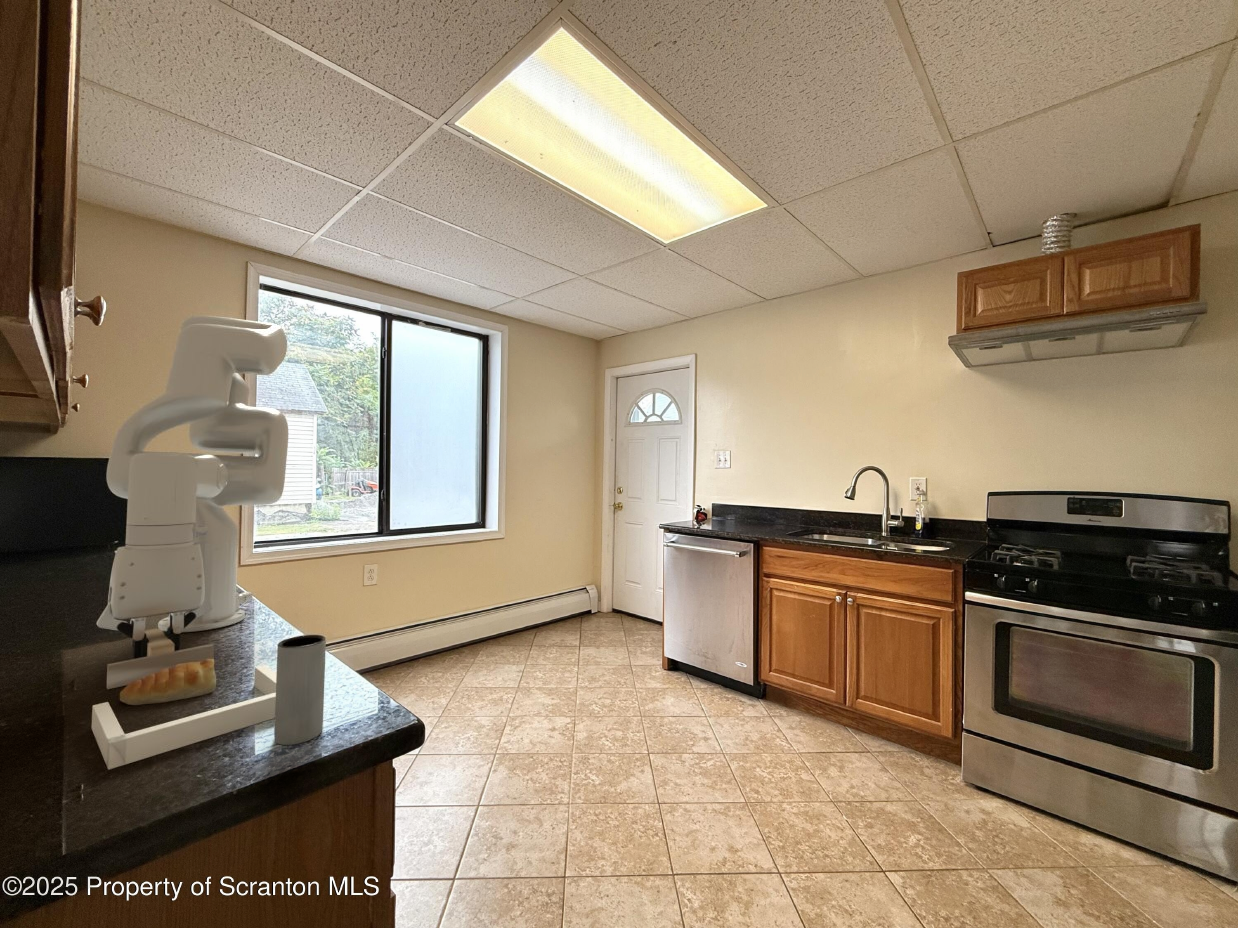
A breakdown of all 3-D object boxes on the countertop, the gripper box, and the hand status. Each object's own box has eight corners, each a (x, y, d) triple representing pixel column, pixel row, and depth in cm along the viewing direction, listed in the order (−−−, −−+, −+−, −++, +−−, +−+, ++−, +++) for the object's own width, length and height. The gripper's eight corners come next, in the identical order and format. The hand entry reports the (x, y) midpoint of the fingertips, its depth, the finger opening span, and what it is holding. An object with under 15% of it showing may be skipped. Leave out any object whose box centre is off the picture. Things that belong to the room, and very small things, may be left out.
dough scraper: (96, 665, 73) (97, 637, 74) (193, 646, 82) (194, 621, 82) (107, 689, 66) (108, 658, 66) (213, 665, 74) (214, 638, 75)
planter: (266, 737, 55) (270, 641, 55) (310, 720, 59) (313, 631, 59) (285, 750, 53) (289, 650, 53) (330, 732, 56) (333, 639, 57)
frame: (91, 728, 56) (92, 705, 56) (264, 683, 69) (265, 664, 69) (108, 769, 49) (109, 743, 49) (299, 710, 61) (299, 689, 61)
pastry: (118, 715, 60) (119, 682, 60) (120, 697, 65) (121, 666, 65) (219, 693, 66) (220, 664, 66) (214, 678, 71) (215, 650, 71)
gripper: (221, 530, 83) (216, 643, 82) (79, 538, 70) (72, 671, 70) (235, 534, 78) (230, 654, 78) (85, 543, 66) (78, 686, 65)
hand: (155, 661), depth 74 cm, fingers closed on dough scraper, 2 cm apart
